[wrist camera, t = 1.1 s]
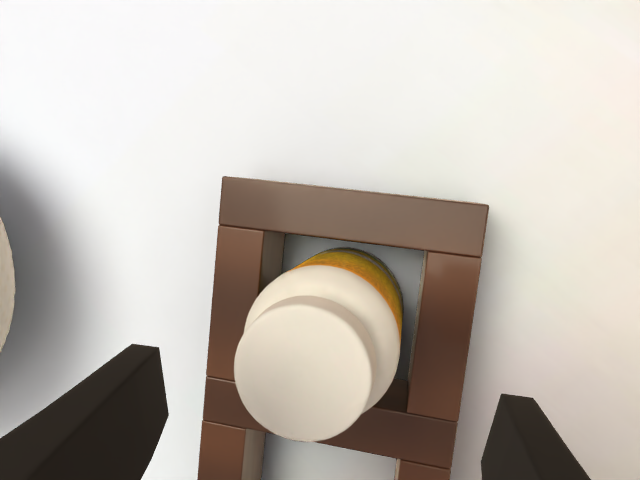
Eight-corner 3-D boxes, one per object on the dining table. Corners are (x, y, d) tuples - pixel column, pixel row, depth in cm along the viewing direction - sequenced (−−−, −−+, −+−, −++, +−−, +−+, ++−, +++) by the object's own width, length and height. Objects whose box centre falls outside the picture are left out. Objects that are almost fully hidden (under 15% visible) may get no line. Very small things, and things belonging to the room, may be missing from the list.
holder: (421, 594, 24) (423, 661, 20) (217, 544, 26) (187, 598, 22) (477, 202, 22) (489, 205, 18) (249, 178, 23) (221, 175, 20)
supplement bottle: (385, 372, 23) (366, 496, 14) (278, 337, 24) (191, 431, 14) (418, 263, 22) (422, 316, 13) (307, 231, 23) (233, 257, 14)
